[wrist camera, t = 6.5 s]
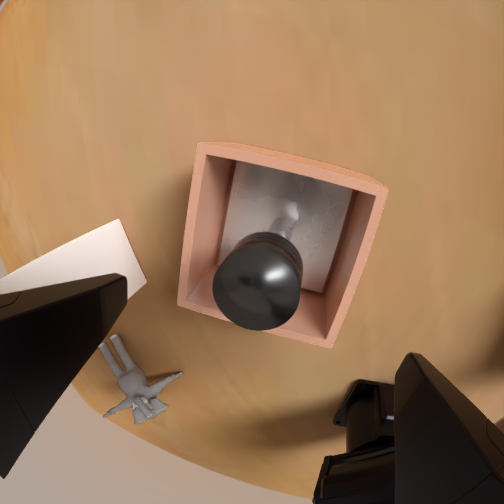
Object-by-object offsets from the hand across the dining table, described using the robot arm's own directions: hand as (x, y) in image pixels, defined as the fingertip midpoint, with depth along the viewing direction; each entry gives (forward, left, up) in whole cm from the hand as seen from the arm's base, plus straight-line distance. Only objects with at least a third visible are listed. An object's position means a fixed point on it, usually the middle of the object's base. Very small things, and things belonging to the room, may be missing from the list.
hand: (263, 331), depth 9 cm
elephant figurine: (-19, +11, -13) cm, 26 cm away
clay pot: (0, +1, -13) cm, 13 cm away
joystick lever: (0, +1, -12) cm, 12 cm away
